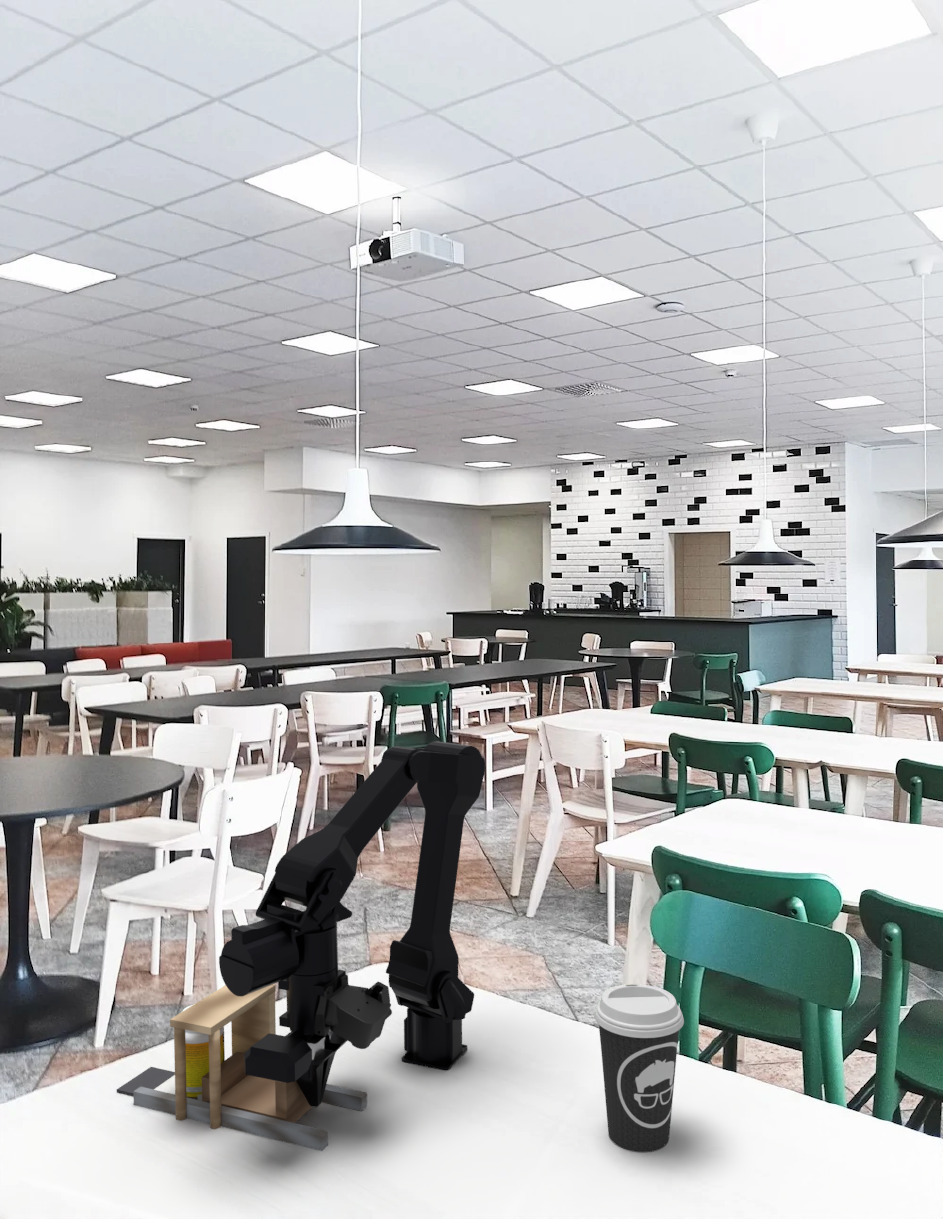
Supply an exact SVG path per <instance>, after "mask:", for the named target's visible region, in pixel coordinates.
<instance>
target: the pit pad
mask: <svg viewBox="0 0 943 1219" xmlns="http://www.w3.org/2000/svg"><path fill="white" fill-rule="evenodd" d="M172 1077H175V1071H172V1070H168V1069H162V1068H159V1067H154V1066H150V1067H148V1068H147V1069H145V1070H144V1071H143V1072H141V1073H139V1074H138V1075H136V1076H134V1077H133V1078H132V1079H130V1080H129V1081H128V1082H126V1083H124V1084H122V1085H121V1086H119V1087H118V1088H117V1089H116V1092H117V1093H120V1094H124V1095H127V1096H131V1097H134V1094H133V1091H135V1090H136V1089H138V1088H139V1087H145V1088H149V1089H153V1090H156V1088H158V1087H159V1086H161V1085H162V1084H164V1083H165V1082H167V1081H168V1080H170V1079H171V1078H172Z"/></svg>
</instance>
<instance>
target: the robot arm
mask: <svg viewBox="0 0 943 1219" xmlns="http://www.w3.org/2000/svg"><path fill="white" fill-rule="evenodd" d="M485 772H486V760H485V758H484V757H483V756H482V754H481V751H480V750H479V749H478V748H477V747H476V746H473V745H468V744H467V745H466V744H459V743H452V742H445V741H437V740H435V741H431V742H430V743H428V744H427V745H426V746H425V747H424V748H421V747H406V746H405V747H404V746H398V745H395V746H392V747H389V748H387V749H386V750H384V753H383V754H382V757H381V760H380V763H378V764H377V766H376V767H375V768H374V770H373V771H372V772H370V774H369V775H368V777H367V778H366V779H365V780H363V782H362V784H361V785H360V786H359V787H358V788H357V790H356V791H355V792H354V793H353V794H352V795H351V796H350V798H349V799H348V800H347V801H346V803H345V804H344V805H343V806H342V808H341V809H340V810H339V811H337V813H336V815H334V816H333V817H332V819H331V820H330V821H329V823H328V824H326V825H325V826H324V827H323V828H322V829H320V830H318V831H316V832H314V833H312V834H310V835H308V836H305V837H304V838H302V839H301V840H300V841H299V842H297V843H296V844H295V845H294V846H293V847H291V848H290V849H289V850H288V851H287V852H286V853H284V855H282V857H281V858H280V859H279V861H278V862H277V864H276V866H275V870H274V875H273V876H272V879H271V881H270V882H269V885H268V887H267V889H266V891H265V893H264V895H263V897H262V899H261V901H260V903H259V905H258V907H257V909H256V911H255V916H256V918H260V919H261V920H260V921H259V920H258V921H255V922H253V923H250V924H249V923H248V924H241V925H238V926H235V927H232V929H231V931H230V932H231V934H230V937H231V939H229V940H228V941H226V942H225V944H224V945H223V947H222V950H221V954H220V955H219V957H218V964H219V965H218V966H219V971H220V975H221V979H222V981H223V983H224V984H225V985H226V986H227V988H228V989H229V990H230V991H231V992H232V993H233V994H234V995H236V996H245V995H247V994H250V993H252V992H255V991H257V990H260V989H262V988H265V987H267V986H270V985H272V984H274V985H276V984H277V983H278V985H277V986H278V990H282V991H286V992H285V993H286V1011H285V1012H284V1013H282V1014H280V1015H279V1016H278V1023H279V1024H278V1025H279V1026H280V1027H284V1028H289V1031H290V1032H288V1033H287V1034H286V1035H281V1034H270V1033H269V1034H267V1035H266V1036H265V1037H263V1038H262V1039H261V1040H259V1041H258V1042H257V1043H255V1044H254V1045H253V1046H251V1047H250V1048H249V1049H248V1050H247V1051H246V1052H245V1053H244V1072H245V1074H246V1075H250V1076H255V1077H260V1078H265V1079H270V1080H275V1081H280V1082H285V1083H290V1082H294V1081H297V1083H298V1085H299V1087H300V1089H301V1091H302V1092H303V1094H304V1096H305V1098H306V1100H307V1102H308V1103H309V1105H310V1106H313V1107H312V1108H318V1107H319V1106H321V1104H322V1103H323V1102H322V1099H323V1095H324V1092H325V1088H326V1084H328V1080H329V1076H330V1072H331V1068H332V1066H333V1065H332V1064H333V1061H334V1058H335V1055H336V1053H337V1051H339V1049H340V1048H342V1047H343V1045H345V1044H346V1042H349V1043H350V1044H351V1045H352V1046H353V1047H355V1048H356V1049H358V1050H359V1049H360V1050H365V1049H367V1048H369V1047H370V1046H371V1043H373V1042H374V1041H375V1040H376V1039H378V1038H380V1036H381V1034H382V1033H383V1029H384V1025H385V1023H386V1020H387V1019H388V1018H389V1017H390V1016H392V1014H393V1010H392V1008H391V1006H392V1003H391V998H390V990H389V987H390V988H391V990H392V992H393V994H394V995H395V998H396V999H395V1000H396V1002H397V1005H399V1006H400V1007H402V1006H403V1007H406V1008H407V1009H406V1017H405V1018H404V1019H403V1049H404V1052H406V1053H405V1054H404V1055H402V1057H401V1062H402V1063H406V1064H409V1065H410V1064H411V1065H416V1066H420V1067H426V1068H431V1069H436V1070H440V1071H450V1070H451V1069H452V1067H453V1066H455V1064H456V1063H457V1061H459V1060H460V1058H461V1057H462V1056H464V1055H465V1053H467V1051H468V1050H469V1049H468V1048H469V1047H468V1045H467V1044H464V1043H463V1020H465V1019H466V1014H468V1013H470V1012H471V1011H472V1009H473V1005H474V1004H473V1003H474V1001H475V1000H474V999H475V993H474V992H473V991H472V989H470V988H469V987H468V986H467V985H466V984H465V983H464V982H463V980H461V979H460V978H459V960H460V959H459V958H460V957H459V955H458V952H457V949H456V946H455V944H454V940H453V937H452V935H451V923H452V914H453V907H454V901H455V900H454V899H455V892H456V884H457V879H458V878H457V876H458V869H459V862H460V853H461V846H462V838H463V830H464V824H465V817H466V815H467V813H468V812H469V811H470V809H471V808H472V806H473V805H474V804H475V803H476V802H477V800H478V799H479V797H480V795H481V794H480V793H481V789H482V785H483V782H484V778H485ZM414 786H416V789H417V792H418V794H419V797H420V800H421V802H422V805H423V808H424V821H423V827H422V836H421V843H420V850H419V860H418V865H417V873H416V880H415V881H416V882H415V887H414V888H415V889H414V894H413V903H412V909H411V919H410V925H409V928H408V929H407V931H406V932H405V933H404V934H403V936H402V937H401V938H400V940H394V939H393V940H392V941H391V944H390V946H389V960H388V964H387V966H386V970H385V973H386V974H388V985H389V986H388V985H386V984H384V983H383V982H380V981H377V982H375V983H374V984H373V985H371V986H370V987H363V986H356V985H351V984H349V975H348V974H347V970H343V969H339V951H338V950H339V949H338V948H339V947H338V944H339V943H338V942H339V941H338V923H339V922H341V921H344V920H347V919H350V918H351V917H352V916H353V911H352V910H350V909H349V908H348V907H346V906H345V905H344V904H343V903H341V901H342V900H343V899H344V898H343V897H344V896H345V894H346V892H347V891H348V889H349V888H350V886H351V884H352V882H353V881H354V879H355V877H356V875H357V868H358V861H359V857H360V855H361V854H362V852H363V850H364V849H365V848H366V847H367V845H368V844H369V843H370V842H371V841H372V839H373V838H374V837H375V835H376V834H377V833H378V831H379V830H380V829H381V828H382V827H383V825H384V824H385V823H386V821H387V820H388V819H389V818H390V816H391V815H392V814H393V813H394V812H395V810H396V809H397V808H398V806H400V804H401V803H402V802H403V800H404V799H405V798H406V797H407V795H408V794H410V792H411V790H412V789H413V788H414ZM285 901H287V902H289V903H293V904H296V905H300V906H303V907H305V909H304V910H300V909H297V908H294V907H290V906H287V905H284V903H285ZM225 985H224V986H225Z"/></svg>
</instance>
